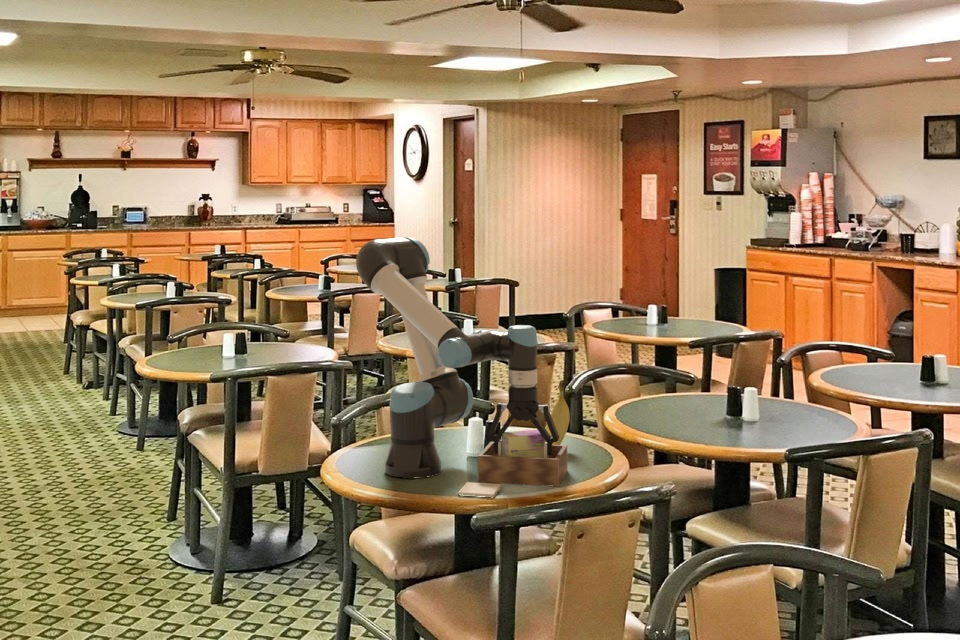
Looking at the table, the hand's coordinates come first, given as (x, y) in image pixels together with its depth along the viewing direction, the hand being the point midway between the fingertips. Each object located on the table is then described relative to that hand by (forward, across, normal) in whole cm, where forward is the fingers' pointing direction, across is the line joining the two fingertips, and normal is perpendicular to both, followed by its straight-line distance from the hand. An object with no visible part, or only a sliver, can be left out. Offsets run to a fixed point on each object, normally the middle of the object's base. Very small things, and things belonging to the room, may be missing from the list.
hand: (523, 466), depth 283 cm
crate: (+3, 0, 0) cm, 3 cm away
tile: (+3, -8, -16) cm, 18 cm away
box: (+3, 0, 0) cm, 3 cm away
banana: (+3, +2, +23) cm, 23 cm away
